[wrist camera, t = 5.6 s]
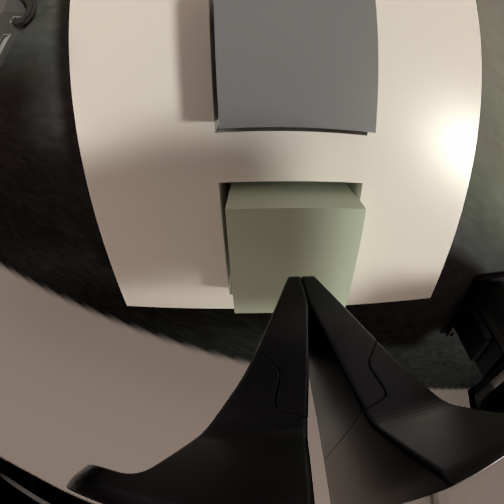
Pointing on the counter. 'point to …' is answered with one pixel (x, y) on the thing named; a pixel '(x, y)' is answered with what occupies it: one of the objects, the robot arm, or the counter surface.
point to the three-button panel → (267, 147)
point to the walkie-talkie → (13, 22)
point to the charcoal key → (297, 63)
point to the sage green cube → (290, 238)
